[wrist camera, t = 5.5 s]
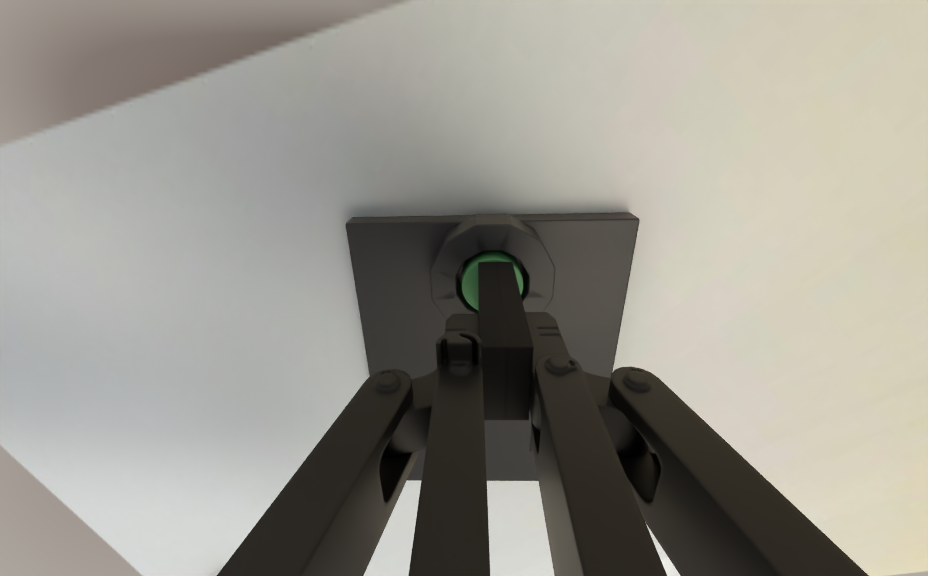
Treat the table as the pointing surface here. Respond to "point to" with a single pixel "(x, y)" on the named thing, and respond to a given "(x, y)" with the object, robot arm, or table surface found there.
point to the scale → (440, 295)
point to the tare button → (472, 273)
